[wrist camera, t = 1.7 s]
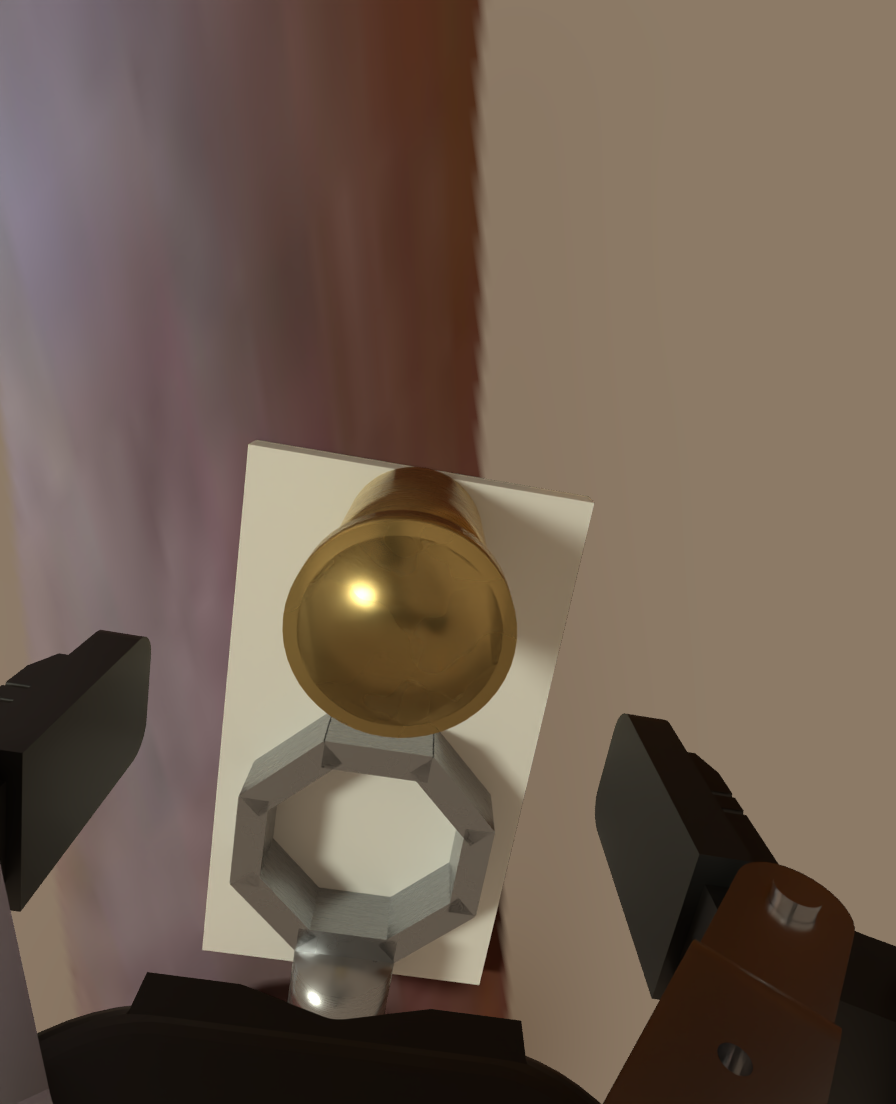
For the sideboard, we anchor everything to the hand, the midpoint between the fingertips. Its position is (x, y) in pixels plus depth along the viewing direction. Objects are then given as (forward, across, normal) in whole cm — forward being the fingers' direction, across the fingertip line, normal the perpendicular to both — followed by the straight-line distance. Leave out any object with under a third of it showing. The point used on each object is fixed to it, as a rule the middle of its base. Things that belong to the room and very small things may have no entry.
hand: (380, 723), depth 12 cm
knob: (+11, 0, 0) cm, 11 cm away
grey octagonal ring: (+11, 0, +12) cm, 17 cm away
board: (+12, 0, +8) cm, 15 cm away
